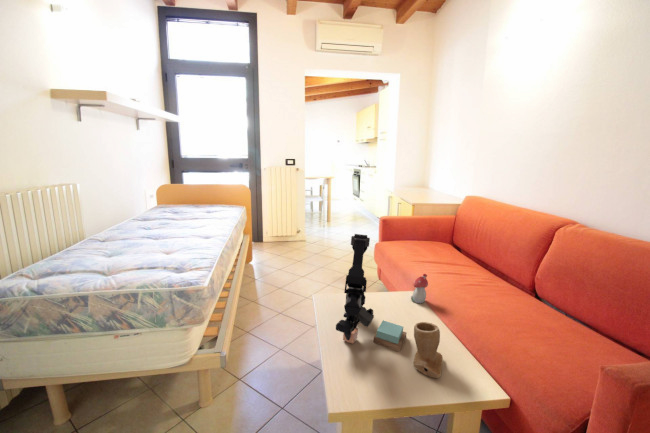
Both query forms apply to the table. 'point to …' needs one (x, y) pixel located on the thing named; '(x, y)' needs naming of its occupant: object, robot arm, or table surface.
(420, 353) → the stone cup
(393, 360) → the table surface
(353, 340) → the terracotta cube
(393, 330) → the tower top
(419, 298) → the decorative ornament
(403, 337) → the tower base
